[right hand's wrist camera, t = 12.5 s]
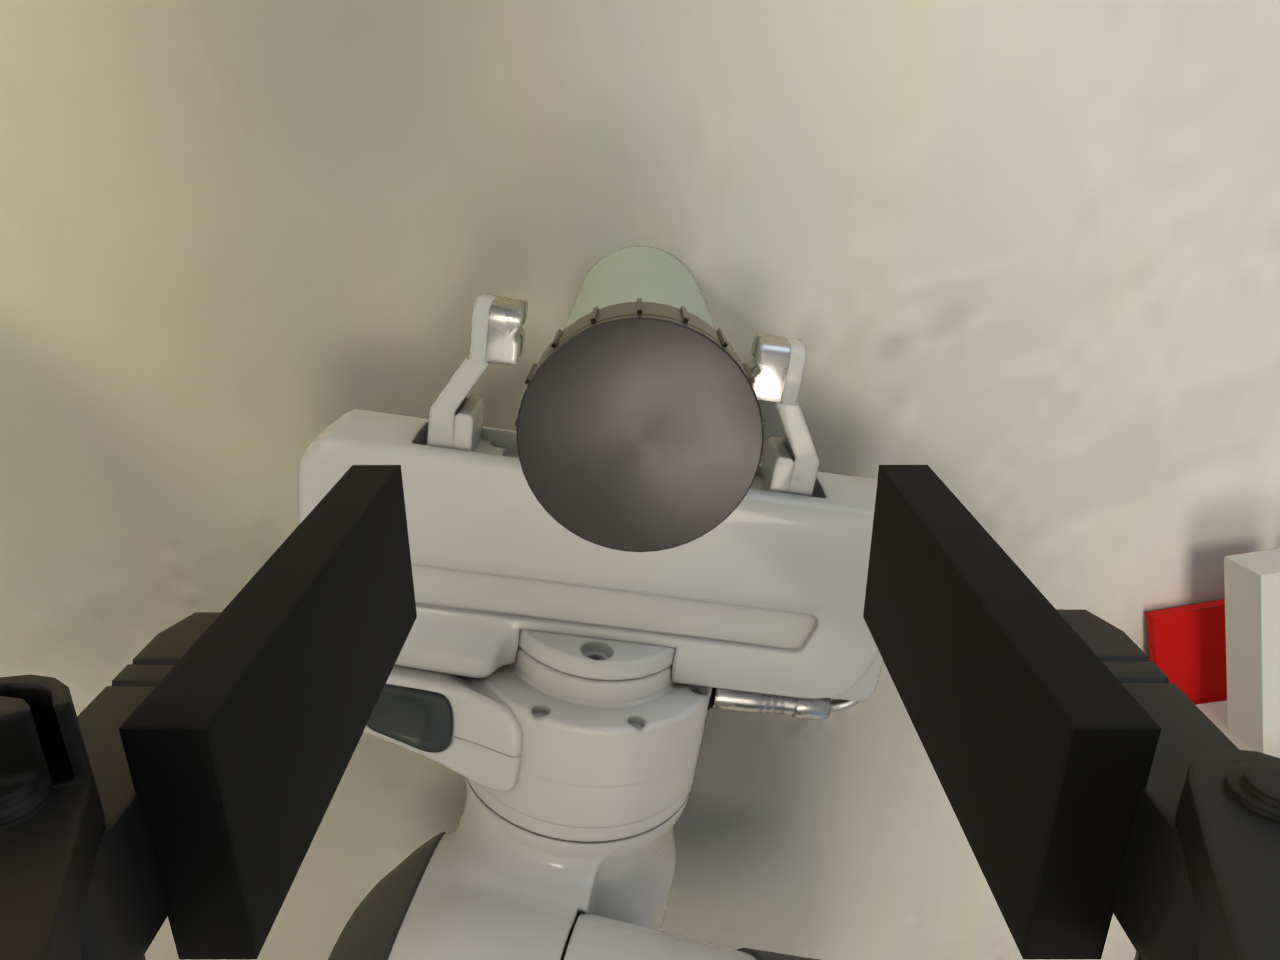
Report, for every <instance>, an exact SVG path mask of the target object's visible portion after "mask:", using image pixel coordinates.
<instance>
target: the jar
mask: <svg viewBox="0 0 1280 960" xmlns="http://www.w3.org/2000/svg"><path fill="white" fill-rule="evenodd" d="M637 298H642V302H654V303H660V304H666V305H670V306H673V307H676V308H679V309H680V308H681V306H684V307H686V310H687V312H689V313H691V314H693V315H695V316H697V317H699V318H700V319H702V320H703V321H705V322H707V323H708V324H710V325H711V326H712V327H713V328H714V329H715V330H716V328H715V326H714V323H713V321H712V318H711V316H710V313H709V311H708V308H707V306H706V303H705V301H704V298H703V296H702V293H701V291H700V288H699V286H698V284H697V282H696V280H695V278H694V276H693V275H692V273H691V272H690V271H689V269H688V268H687V267H686V266H685V265H684V264H683V263H682V262H681V261H680V260H678V259H677V258H675V257H674V256H672V255H671V254H669V253H667V252H665V251H662V250H659V249H656V248H651V247H641V246H638V247H629V248H624V249H621V250H618V251H615V252H613V253H611V254H609V255H607V256H606V257H604V258H603V259H602V260H600V261H599V262H598V263H597V264H596V265H595V266H594V267H593V268H592V269H591V271H590V272H589V273H588V275H587V276H586V278H585V280H584V282H583V284H582V286H581V289H580V291H579V293H578V296H577V298H576V301H575V303H574V306H573V308H572V311H571V313H570V316H569V318H568V321H567V323H566V326H565V328H564V329H566V328H567V327H568V326H569V325H571V324H572V323H574V322H575V321H576V320H578V319H579V318H581V317H583V316H585V315H587V314H589V313H591V312H592V311H593V308H594V307H596V306H598V308H599V309H601V308H604V307H606V306H610V305H615V304H619V303H627V302H637Z"/></svg>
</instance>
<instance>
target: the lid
mask: <svg viewBox="0 0 1280 960" xmlns="http://www.w3.org/2000/svg"><path fill="white" fill-rule="evenodd" d="M754 382H755V381H754V379H753V377H752V375H751V373H750V371H749V369H748V366H747V364H746V363H743V364H742V363H741V361H740V359H739V357H738V355H737V354H736V352H735V351H734V349H733V348H732V346H731V345H730V344H729V343H728V342H727V340H726V338H725V336H724V333H723V331H722V330H721V329H720V328H719V329H718V330H715V329H714V328H713V327H712V326H711V325H710V324H708V323H707V322H705V321H703V320H702V319H700V318H699V317H697V316H695V315H693V314H691V313H689V312H687V310H686V307H684V306H681V308H680V309H679V308H676V307H673V306H670V305H666V304H660V303H654V302H642V298H637V302H627V303H619V304H615V305H610V306H606V307H604V308H601V309H599V308H598V306H596V307H594V308H593V311H592V312H591V313H589V314H587V315H585V316H583V317H581V318H579V319H578V320H576V321H575V322H574V323H572V324H571V325H569V326H568V327H567V328H566V329H564V330H563V331H562V330H561V329H559V330H558V331H557V332H556V335H555V337H554V339H553V342H552V343H551V344H550V345H549V347H548V348H547V349H546V351H545V352H544V354H543V356H542V357H541V359H540V360H539V362H538V364H535V363H534V364H533V366H532V369H531V371H530V373H529V375H528V377H527V379H526V381H525V383H526V384H528V386H527V389H526V391H525V393H524V396H523V398H522V402H521V405H520V409H519V413H518V417H517V420H516V422H515V426H517V449H518V456H519V461H520V464H521V468H522V471H523V474H524V476H525V479H526V481H527V483H528V485H529V487H530V489H531V491H532V492H533V494H534V496H535V497H536V499H537V500H538V502H539V503H540V504H541V505H542V507H543V508H544V509H545V510H546V512H547V513H548V514H550V515H551V516H552V517H553V518H554V519H555V520H556V521H557V522H558V523H559V524H561V525H562V526H563V527H565V528H566V529H567V530H569V531H570V532H572V533H573V534H575V535H577V536H579V537H580V538H582V539H584V540H587V541H589V542H591V543H594V544H596V545H599V546H603V547H606V548H610V549H614V550H620V551H627V552H651V551H660V550H665V549H670V548H674V547H677V546H680V545H684V544H687V543H689V542H691V541H693V540H695V539H698V538H700V537H702V536H703V535H705V534H706V533H708V532H710V531H711V530H713V529H714V528H716V527H717V526H718V525H719V524H721V523H722V522H723V521H724V520H726V519H727V518H728V517H729V515H730V514H731V513H732V512H733V511H734V510H735V509H736V508H737V507H738V505H739V504H740V503H741V501H742V500H743V499H744V497H745V496H746V494H747V492H748V491H749V489H750V487H751V485H752V483H753V481H754V479H755V476H756V474H757V471H758V468H759V464H760V460H761V456H762V450H763V440H764V435H763V425H765V422H764V419H763V417H762V414H761V408H760V405H759V402H758V399H757V396H756V393H755V391H754V388H753V386H752V383H754Z"/></svg>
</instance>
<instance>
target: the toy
mask: <svg viewBox="0 0 1280 960" xmlns="http://www.w3.org/2000/svg"><path fill="white" fill-rule="evenodd" d="M1224 586H1225V599H1222V600H1216V601H1210V602H1204V603H1198V604H1192V605H1186V606H1180V607H1174V608H1168V609H1162V610H1156V611H1150V612H1146V620H1147V631H1148V642H1149V654H1150V662H1154V663H1155V664H1156V665H1157V666H1158V667H1159V668H1160V669H1161V670H1162V671H1163V673H1164V674H1165V675H1166V676H1167V677H1168V678H1169V683H1174V684H1175V685H1176V686H1177V687H1178V688H1179V689H1180V690H1181V691H1182V692H1183V693H1184V694H1185V695H1186V696H1187V697H1188V698H1189V699H1190V700H1191V701H1192V702H1193V703H1194V704H1195V705H1196V706H1197V707H1198V708H1199V709H1200V710H1201V711H1202V712H1203V713H1204V714H1205V715H1206V716H1207V717H1208V718H1209V719H1210V720H1211V721H1212V722H1213V723H1214V724H1215V725H1216V726H1217V727H1218V728H1219V729H1220V730H1221V731H1222V732H1223V733H1224V734H1225V735H1226V736H1227V738H1228V739H1229V740H1230V741H1231V742H1232V743H1233V744H1234V745H1235V746H1236V747H1237V748H1238V749H1239V750H1248V751H1257V752H1261V753H1264V754H1267V755H1271V756H1274V757H1277V758H1280V548H1276V549H1269V550H1263V551H1256V552H1249V553H1243V554H1236V555H1230V556H1224Z"/></svg>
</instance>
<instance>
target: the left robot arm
mask: <svg viewBox="0 0 1280 960" xmlns="http://www.w3.org/2000/svg"><path fill="white" fill-rule="evenodd" d="M527 304H528V303H527V301H524V300H518V299H512V298H505V297H499V296H494V295H485V294H481V295H480V296H479V297H478V298H477V299H476V301H475V305H474V310H473V315H472V328H471V341H470V354H469V355H468V356H467V358H466V359H465V360H464V362H463V363H462V364H461V366H460V367H459V368H458V370H457V371H456V373H455V374H454V375H453V377H452V378H451V380H450V381H449V382H448V384H447V385H446V386H445V388H444V389H443V391H442V392H441V393H440V395H439V396H438V398H437V399H436V400H435V402H434V403H433V405H432V406H431V407H430V409H429V419H427V418H419V417H412V416H404V415H397V414H389V413H382V412H375V411H368V410H352V411H349V412H347V413H345V414H344V415H343V416H341V417H340V418H339V419H337V420H336V421H335V422H334V423H332V424H331V425H330V426H328V427H327V428H326V429H325V430H324V431H323V432H321V433H320V434H319V436H318V437H317V438H316V439H315V440H314V441H313V442H312V443H311V444H310V445H309V447H308V448H307V450H306V451H305V453H304V455H303V457H302V460H301V463H300V467H299V478H298V505H299V524H301V522H302V521H303V520H304V519H305V518H306V517H307V516H308V515H309V513H310V512H311V511H312V510H313V509H314V508H315V507H316V506H317V504H318V503H319V502H320V501H321V500H322V499H323V498H324V496H325V495H326V494H327V493H328V492H329V491H330V490H331V489H332V487H333V486H334V485H335V484H336V483H337V482H338V481H339V480H340V478H341V477H342V476H343V475H344V474H345V473H346V472H347V471H348V469H349V468H350V467H351V466H352V465H401V472H402V481H403V491H404V500H405V509H406V519H407V528H408V537H409V547H410V556H411V566H412V575H413V584H414V594H415V603H416V612H417V618H416V620H415V622H414V624H413V626H412V629H411V631H410V633H409V635H408V637H407V639H406V641H405V644H404V646H403V648H402V650H401V652H400V654H399V656H398V658H397V661H396V663H395V665H394V667H393V669H392V671H391V673H390V676H389V678H388V680H387V682H386V684H385V686H384V688H383V690H382V693H381V695H380V697H379V699H378V701H377V703H376V705H375V708H374V710H373V712H372V714H371V716H370V718H369V720H368V723H367V725H366V727H365V729H364V731H363V732H364V733H367V734H370V735H372V736H375V737H378V738H380V739H383V740H385V741H388V742H391V743H393V744H396V745H398V746H401V747H403V748H405V749H408V750H410V751H413V752H415V753H417V754H420V755H422V756H424V757H426V758H428V759H431V760H433V761H435V762H437V763H439V764H441V765H443V766H445V767H447V768H449V769H451V770H453V771H455V772H457V773H459V774H460V775H462V776H464V777H465V781H466V788H467V800H466V806H465V809H464V812H463V814H462V817H461V820H460V823H459V826H458V828H457V829H456V830H455V831H454V832H453V833H450V834H446V833H445V832H442V833H440V834H439V835H437V836H435V837H433V838H432V839H430V840H429V841H427V842H426V843H424V844H423V845H422V846H420V847H419V848H418V849H417V850H415V851H414V852H413V853H412V854H411V855H410V856H408V857H407V858H406V859H405V860H404V861H403V862H401V863H400V864H399V865H398V866H397V867H396V868H395V869H394V870H392V871H391V872H390V873H389V874H388V875H386V876H385V877H384V878H383V879H382V880H381V881H380V882H379V883H378V884H377V885H376V886H375V887H374V888H373V889H372V890H371V891H370V892H369V894H368V895H367V896H366V897H365V898H364V900H363V901H362V902H361V904H360V905H359V906H358V908H357V909H356V910H355V912H354V913H353V915H352V916H351V918H350V919H349V921H348V923H347V924H346V926H345V928H344V929H343V931H342V933H341V935H340V937H339V939H338V941H337V942H336V944H335V946H334V948H333V950H332V952H331V955H330V957H329V959H328V960H819V959H812V958H806V957H799V956H793V955H786V954H780V953H774V952H767V951H761V950H754V949H748V948H741V949H737V950H733V949H729V948H725V947H721V946H718V945H714V944H710V943H706V942H702V941H698V940H694V939H690V938H686V937H682V936H678V935H674V934H670V933H666V932H662V931H660V930H661V926H662V923H663V919H664V915H665V911H666V907H667V903H668V899H669V895H670V891H671V886H672V881H673V876H674V870H675V842H674V836H673V826H674V825H675V823H676V822H677V820H678V819H679V817H680V815H681V813H682V812H683V810H684V808H685V806H686V804H687V801H688V798H689V795H690V792H691V789H692V784H693V779H694V774H695V769H696V764H697V759H698V754H699V750H700V745H701V740H702V735H703V731H704V726H705V720H706V714H707V710H709V709H710V708H714V709H723V710H731V711H740V712H750V713H758V712H759V713H766V712H767V713H773V712H774V713H781V714H787V715H791V716H792V717H795V718H799V719H807V720H821V719H827V718H828V717H829V715H830V711H839V710H843V709H847V708H849V707H852V706H854V705H856V704H858V703H859V702H862V701H865V700H867V699H868V698H869V697H870V696H871V694H872V693H873V691H874V689H875V687H876V684H877V681H878V677H879V674H880V670H881V667H882V663H883V658H882V656H881V654H880V652H879V650H878V648H877V646H876V644H875V641H874V639H873V637H872V635H871V633H870V631H869V629H868V626H867V624H866V622H865V620H864V618H863V612H864V603H865V594H866V584H867V575H868V566H869V556H870V547H871V537H872V528H873V519H874V509H875V500H876V491H877V481H878V480H877V479H871V478H863V477H856V476H848V475H841V474H833V473H826V472H819V471H818V466H819V459H818V456H817V453H816V450H815V448H814V445H813V442H812V439H811V436H810V433H809V430H808V427H807V424H806V421H805V419H804V416H803V413H802V410H801V407H800V405H799V403H798V402H797V399H798V395H799V390H800V385H801V381H802V376H803V371H804V367H805V362H806V346H805V345H804V344H803V342H802V341H801V340H800V339H793V338H785V337H779V336H771V335H763V334H755V336H754V339H753V343H752V347H751V352H752V354H753V356H754V359H753V360H752V361H751V362H750V363H749V364H748V369H749V371H750V373H751V375H752V377H753V379H754V381H755V382H754V383H752V386H753V388H754V391H755V393H756V396H757V399H760V400H766V401H773V403H774V406H775V409H776V412H777V415H778V418H779V421H780V424H781V427H782V429H783V432H784V435H785V440H784V441H783V439H782V438H778V437H770V438H768V439H767V444H766V448H765V453H764V457H763V462H762V464H759V468H758V471H757V474H756V476H755V479H754V481H753V483H752V485H751V487H750V489H749V491H748V492H747V494H746V496H745V497H744V499H743V500H742V501H741V503H740V504H739V505H738V507H737V508H736V509H735V510H734V511H733V512H732V513H731V514H730V515H729V517H728V518H727V519H726V520H724V521H723V522H722V523H721V524H719V525H718V526H717V527H716V528H714V529H713V530H711V531H710V532H708V533H706V534H705V535H703V536H702V537H700V538H698V539H695V540H693V541H691V542H689V543H687V544H684V545H680V546H677V547H674V548H670V549H665V550H660V551H651V552H627V551H620V550H614V549H610V548H606V547H603V546H599V545H596V544H594V543H591V542H589V541H587V540H584V539H582V538H580V537H579V536H577V535H575V534H573V533H572V532H570V531H569V530H567V529H566V528H565V527H563V526H562V525H561V524H559V523H558V522H557V521H556V520H555V519H554V518H553V517H552V516H551V515H550V514H548V513H547V512H546V510H545V509H544V508H543V507H542V505H541V504H540V503H539V502H538V500H537V499H536V497H535V496H534V494H533V492H532V491H531V489H530V487H529V485H528V483H527V481H526V479H525V476H524V474H523V471H522V468H521V464H520V461H519V456H518V449H517V431H516V430H508V429H501V428H493V427H486V426H482V425H483V409H484V400H483V398H482V397H478V396H472V395H471V396H469V397H468V398H467V394H468V393H469V392H470V390H471V389H472V387H473V386H474V385H475V383H476V382H477V380H478V379H479V378H480V376H481V375H482V374H483V372H484V371H485V369H486V368H487V367H488V365H489V364H490V362H492V363H500V364H509V365H517V363H518V361H519V357H521V356H522V354H523V350H524V340H525V331H524V330H523V328H522V325H523V324H524V322H525V321H526V319H527ZM831 698H833V699H837V700H831Z"/></svg>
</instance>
